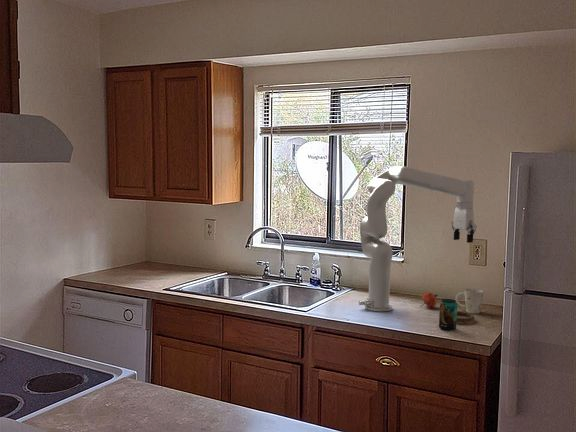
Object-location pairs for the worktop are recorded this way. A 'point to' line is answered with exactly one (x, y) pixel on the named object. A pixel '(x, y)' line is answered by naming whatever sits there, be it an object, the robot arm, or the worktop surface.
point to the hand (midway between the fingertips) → (463, 241)
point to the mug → (471, 300)
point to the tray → (465, 318)
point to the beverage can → (448, 315)
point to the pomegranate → (429, 299)
